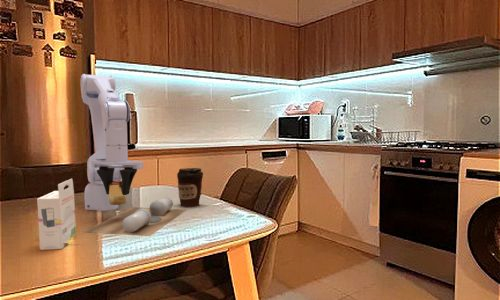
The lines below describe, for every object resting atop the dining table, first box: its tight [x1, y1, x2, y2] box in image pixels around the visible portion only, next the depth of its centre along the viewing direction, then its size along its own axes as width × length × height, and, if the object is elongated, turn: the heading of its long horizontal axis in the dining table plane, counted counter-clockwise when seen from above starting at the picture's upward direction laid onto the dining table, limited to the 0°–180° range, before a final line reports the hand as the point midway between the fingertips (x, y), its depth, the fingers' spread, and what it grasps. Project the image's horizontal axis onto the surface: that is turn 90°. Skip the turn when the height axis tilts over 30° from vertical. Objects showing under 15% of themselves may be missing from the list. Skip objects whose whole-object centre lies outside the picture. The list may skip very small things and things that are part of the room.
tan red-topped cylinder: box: [109, 180, 127, 206], centre depth 101 cm, size 4×4×6 cm
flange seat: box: [150, 217, 162, 223], centre depth 101 cm, size 6×6×1 cm
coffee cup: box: [176, 167, 204, 208], centre depth 118 cm, size 9×8×13 cm
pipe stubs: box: [122, 196, 174, 233], centre depth 101 cm, size 5×23×5 cm, turn 170°
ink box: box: [36, 178, 77, 251], centre depth 84 cm, size 9×5×15 cm, turn 5°
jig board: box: [82, 206, 187, 237], centre depth 102 cm, size 18×26×1 cm
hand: (117, 194), depth 101 cm, fingers closed on tan red-topped cylinder, 4 cm apart
